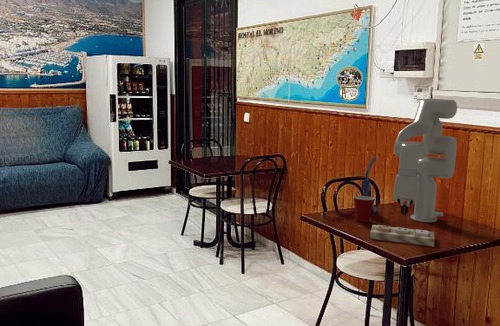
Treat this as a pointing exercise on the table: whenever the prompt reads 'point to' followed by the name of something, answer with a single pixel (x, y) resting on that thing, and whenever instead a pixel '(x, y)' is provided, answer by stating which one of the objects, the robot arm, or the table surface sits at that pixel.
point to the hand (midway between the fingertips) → (404, 214)
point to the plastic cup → (363, 207)
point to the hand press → (368, 184)
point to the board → (402, 236)
